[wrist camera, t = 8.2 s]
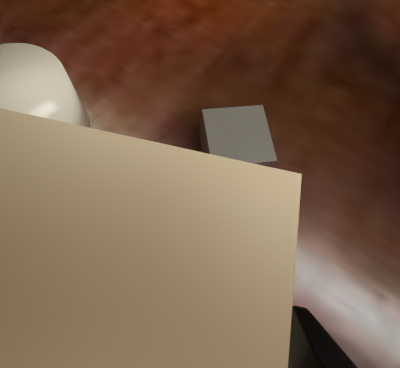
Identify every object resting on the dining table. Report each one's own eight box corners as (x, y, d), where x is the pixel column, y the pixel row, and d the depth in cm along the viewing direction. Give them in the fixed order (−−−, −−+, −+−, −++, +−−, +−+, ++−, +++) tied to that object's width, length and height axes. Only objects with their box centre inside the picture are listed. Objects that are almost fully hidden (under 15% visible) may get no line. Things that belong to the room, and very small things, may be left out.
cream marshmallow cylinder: (72, 176, 18) (41, 144, 14) (-17, 157, 18) (-76, 119, 14) (101, 103, 20) (82, 55, 16) (21, 85, 20) (-20, 33, 16)
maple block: (187, 355, 14) (259, 768, 2) (92, 335, 14) (-398, 638, 2) (205, 257, 16) (302, 174, 4) (121, 239, 16) (-51, 97, 4)
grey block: (262, 178, 19) (277, 160, 17) (206, 184, 19) (212, 167, 16) (250, 129, 21) (262, 104, 18) (198, 133, 20) (202, 109, 17)
